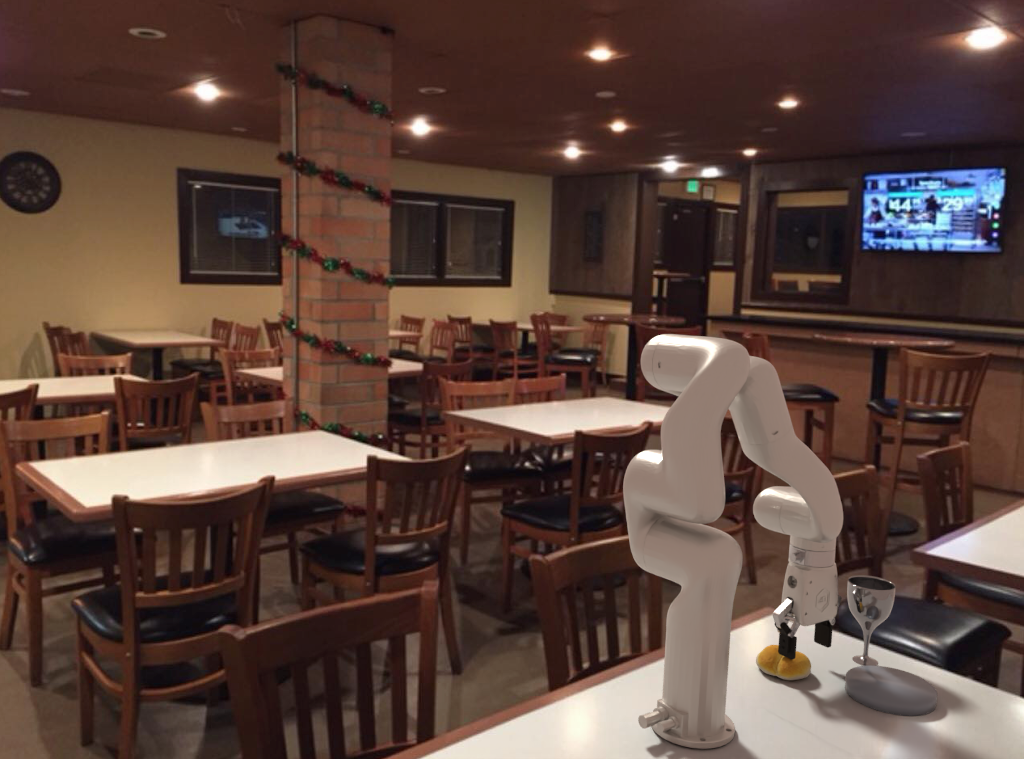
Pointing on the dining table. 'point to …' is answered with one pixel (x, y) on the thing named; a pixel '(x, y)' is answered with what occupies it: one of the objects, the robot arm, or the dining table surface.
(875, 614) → the wine glass
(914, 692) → the plate
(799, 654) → the bread roll
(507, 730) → the dining table surface
